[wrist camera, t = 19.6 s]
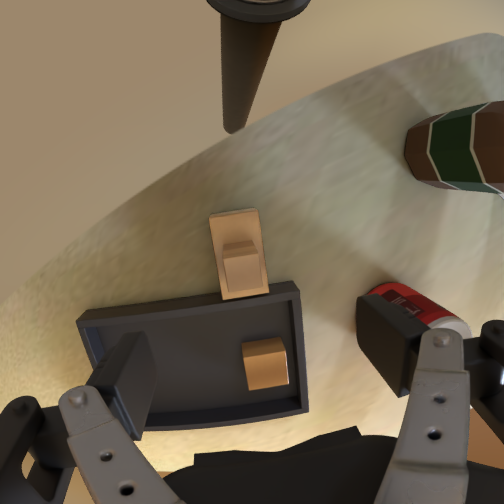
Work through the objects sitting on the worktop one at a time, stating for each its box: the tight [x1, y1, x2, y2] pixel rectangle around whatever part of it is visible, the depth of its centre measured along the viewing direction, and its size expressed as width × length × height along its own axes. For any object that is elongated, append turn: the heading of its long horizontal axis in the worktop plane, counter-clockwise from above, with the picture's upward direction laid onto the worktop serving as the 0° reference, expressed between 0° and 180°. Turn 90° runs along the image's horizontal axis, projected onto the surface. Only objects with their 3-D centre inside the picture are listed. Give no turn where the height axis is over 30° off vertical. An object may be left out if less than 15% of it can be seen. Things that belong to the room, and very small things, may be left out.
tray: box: [76, 281, 309, 431], centre depth 30 cm, size 15×22×3 cm
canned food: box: [356, 283, 473, 339], centre depth 27 cm, size 8×8×11 cm
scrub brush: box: [209, 208, 269, 300], centre depth 25 cm, size 7×4×9 cm, turn 8°
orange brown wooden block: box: [241, 337, 289, 390], centre depth 30 cm, size 4×4×3 cm
